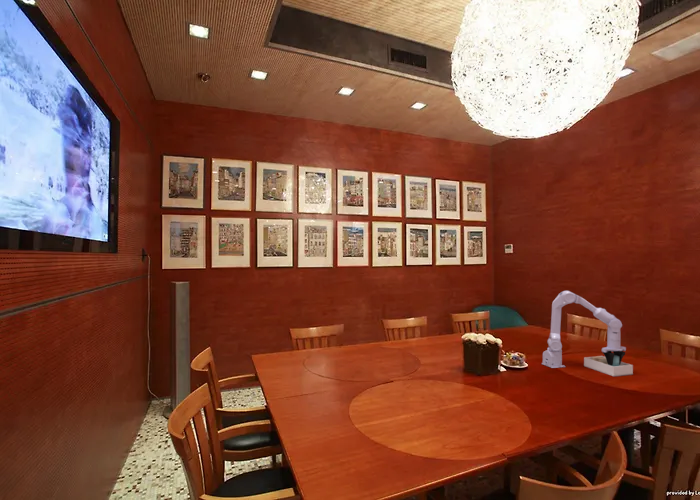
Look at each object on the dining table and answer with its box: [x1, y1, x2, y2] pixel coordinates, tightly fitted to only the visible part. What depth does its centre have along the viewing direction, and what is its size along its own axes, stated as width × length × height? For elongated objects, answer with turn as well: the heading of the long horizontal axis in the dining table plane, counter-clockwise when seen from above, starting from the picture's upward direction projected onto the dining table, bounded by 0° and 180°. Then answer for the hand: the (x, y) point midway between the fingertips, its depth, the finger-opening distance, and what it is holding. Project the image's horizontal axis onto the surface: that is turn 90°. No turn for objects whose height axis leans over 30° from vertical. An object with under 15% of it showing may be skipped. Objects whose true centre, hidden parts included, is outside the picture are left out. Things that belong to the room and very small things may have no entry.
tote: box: [583, 355, 634, 377], centre depth 192 cm, size 13×17×5 cm
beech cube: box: [591, 355, 608, 365], centre depth 196 cm, size 5×5×5 cm
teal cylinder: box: [610, 355, 619, 367], centre depth 189 cm, size 5×5×7 cm
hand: (613, 364), depth 189 cm, fingers closed on teal cylinder, 5 cm apart
